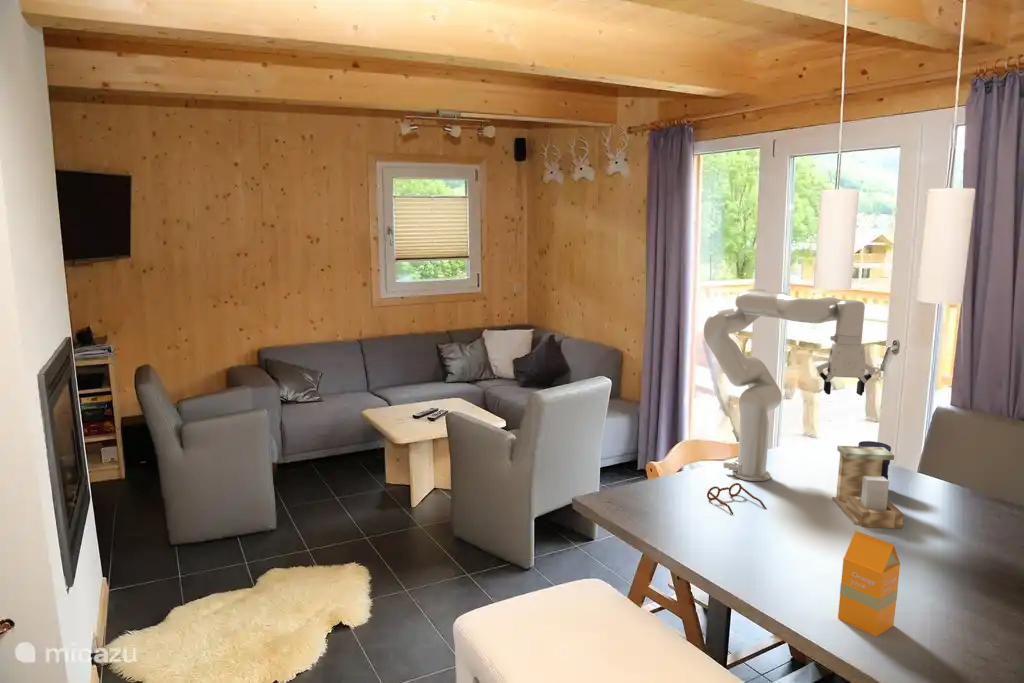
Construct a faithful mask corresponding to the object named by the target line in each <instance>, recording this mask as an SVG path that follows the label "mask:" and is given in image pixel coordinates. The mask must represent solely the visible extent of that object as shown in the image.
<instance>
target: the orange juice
mask: <svg viewBox="0 0 1024 683" xmlns="http://www.w3.org/2000/svg"><path fill="white" fill-rule="evenodd" d="M849 542H850V543H849V545H848V547H847V550H846V552H845V554H844V557H843V560H842V570H841V581H840V588H839V601H838V602H839V603H838V611H837V612H838V613H837V619H838V620H840V621H842V622H844V623H846V624H849V625H851V626H852V627H855V628H857V629H859V630H861V631H863V632H866V634H867V633H868V634H869V635H872V636H874V637H877V636H879V635H881V634H882V633H884V632H885V631H887V630H889V629H890V628H892V627H894V624H895V616H896V606H897V600H898V591H899V590H898V588H899V587H898V586H899V579H900V569H901V562H900V559H899V556H898V553H897V550H896V547H895V545H894V544H893V543H890V542H888V541H885V540H882V539H879V538H876V537H874V536H871V535H868V534H866V533H862V532H860V531H857V530H854V533H853V535H852V538H851V540H850V541H849Z"/></svg>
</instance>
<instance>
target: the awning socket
mask: <svg viewBox="0 0 1024 683" xmlns="http://www.w3.org/2000/svg"><path fill="white" fill-rule="evenodd" d="M836 450H837V452H839V461H838V462H839V464H838V472H837V475H838V476H837V485H836V486H837V487H836V496H832V498H831V500H832V499H833V500H832V501H833V502H834V503H835V504H836V505H837V507H838V508H839V509H840V510H841V511H842V512H843V513H844V514H845V515H846V516H847V518H848V519H849V518H850V519H849V520H850V521H851V522H852V523H853V524H855V525H858V526H860V527H863V528H880V527H886V528H885V529H901V528H903V527H904V526H905V522H903V520H904V513H903V511H901V510H900V509H899V508H898V507H897V506H895V505H894V503H893V502H892V501H890V500H889V498H887V509H886V510H868V509H867V508H866V507H865V506H864V505H863V504H862V503H861V496H862V483H863V476H881V473H882V463H883V460H890V461H894V460H895V455H894V454H893V452H891V451H890V452H889V451H888V450H887V449H885V448H884V447H860V446H856V445H855V446H854V445H853V446H852V445H837V449H836Z"/></svg>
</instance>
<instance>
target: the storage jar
mask: <svg viewBox="0 0 1024 683" xmlns="http://www.w3.org/2000/svg"><path fill="white" fill-rule="evenodd" d="M857 445H858V446H860V447H884V448H885V449H887V450H888V451H889V452H891V451H892V447H891V445H889V444H886V443H883V442H878V441H871V440H867V441H866V440H865V441H863V440H862V441H859V442H858V444H857ZM890 463H891V460H883V463H882V473H881V476H883V477H884V478H886V479H887V480H888V481H889V473H888V472H889V465H890Z"/></svg>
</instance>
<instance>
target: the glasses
mask: <svg viewBox="0 0 1024 683" xmlns="http://www.w3.org/2000/svg"><path fill="white" fill-rule="evenodd" d="M735 486H739V489H738V491H737V492H736V493H734V494H733V493H732V489H733V488H734V487H735ZM715 489H717V494H716V495H715V494H714V493H713V492H712V490H715ZM721 491H728V495H729V496H730V497H734V496H733V495H736V496H738V495H739V494H740V493H741V491H743V492H744V493H745V494H747V495H748V496H749V497H750V498H752V499H754V500H756V501H757V502H759V503H760V505H761V506H762V508H763V507H764V508H765V509H764V508H763V509H764V510H768V508H767V507H766V505H765V504H764V503H763V501H762V499H760V498H758V497H756V496H754V495H753V494H751V493H750V492H749V491H748V490H746V489H745V488H744V487H743V486H742V484H740V483H738V482H735V483H733V484H732V485H730V487H728V486H727V487H721V488H720V487H718V486H712V487H710V488H709V489H708V491H707V494H706V497H707V499H708V500H709V501H710V500H711V499H712V500H716V501H717V502H718V503H719V504H721V505H724V506H725V507H727V509H728V510H729V512H730V514H731V513H732V514H734V512H733V510H732V508H731V506H730V504H729V505H728V503H726V502H725V501H724V502H723V501H722V500H720V499H719V496H720V493H721ZM710 496H711V497H710ZM712 500H711V501H712ZM732 514H731V515H732Z"/></svg>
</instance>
